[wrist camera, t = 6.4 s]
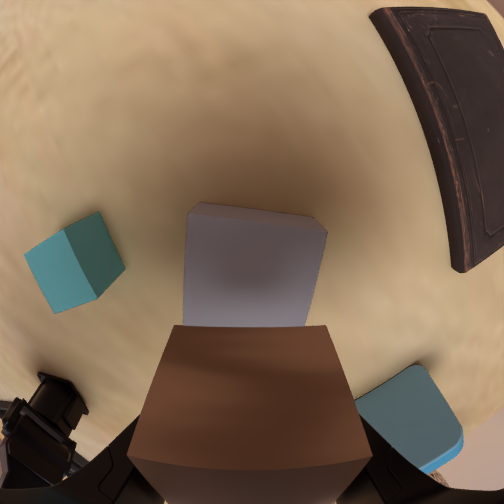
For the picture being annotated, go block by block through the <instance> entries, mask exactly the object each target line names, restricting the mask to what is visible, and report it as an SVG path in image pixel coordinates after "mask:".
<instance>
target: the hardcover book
mask: <svg viewBox="0 0 504 504" xmlns="http://www.w3.org/2000/svg"><path fill="white" fill-rule="evenodd" d="M369 18H370V20H371V21H372V23H373V24H374V26H375V28H376V29H377V31H378V33H379V34H380V36H381V38H382V40H383V41H384V43H385V45H386V47H387V48H388V50H389V52H390V54H391V56H392V58H393V60H394V62H395V64H396V66H397V68H398V70H399V72H400V74H401V76H402V78H403V81H404V83H405V85H406V87H407V90H408V92H409V94H410V97H411V99H412V101H413V104H414V106H415V109H416V112H417V114H418V117H419V120H420V122H421V125H422V128H423V131H424V134H425V137H426V140H427V143H428V147H429V150H430V153H431V157H432V160H433V164H434V168H435V172H436V175H437V180H438V184H439V188H440V193H441V197H442V202H443V208H444V213H445V219H446V225H447V232H448V239H449V247H450V256H451V267H452V268H453V269H454V270H455V271H457V272H459V273H466V272H467V271H469V270H470V269H472V268H473V267H475V266H476V265H478V264H479V263H481V262H482V261H483V260H485V259H486V258H488V257H489V256H490V255H492V254H493V253H494V252H496V251H497V250H498V249H500V248H501V247H502V246H504V48H503V46H502V44H501V42H500V40H499V38H498V36H497V34H496V32H495V30H494V28H493V26H492V24H491V23H490V21H489V19H488V17H487V15H486V14H484V13H478V12H472V11H465V10H458V9H448V8H435V7H384V8H380V9H377V10H375V11H374V12H373V13H371V15H370V16H369Z"/></svg>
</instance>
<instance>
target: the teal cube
mask: <svg viewBox="0 0 504 504" xmlns="http://www.w3.org/2000/svg"><path fill="white" fill-rule="evenodd" d="M24 256H25V258H26V260H27V262H28V265H29V267H30V269H31V271H32V273H33V275H34V277H35V279H36V281H37V283H38V285H39V287H40V289H41V290H42V292H43V294H44V296H45V298H46V300H47V301H48V303H49V305H50V307H51V308H52V310H53V312H54V313H55V314H57V313H59V312H62V311H65V310H68V309H70V308H73V307H76V306H79V305H82V304H84V303H87V302H90V301H93V300H95V299H98V298H99V297H100V296H101V295H102V293H103V292H104V291H105V290H106V289H107V288H108V287H109V286H110V285H111V284H112V283H113V282H114V281H115V279H116V278H117V277H118V276H119V275H120V274H121V273H122V272H123V271H124V270H125V267H124V265H123V263H122V261H121V259H120V257H119V255H118V252H117V250H116V248H115V246H114V244H113V242H112V240H111V237H110V235H109V233H108V231H107V229H106V226H105V224H104V222H103V219H102V217H101V215H100V212H97V213H95V214H93V215H91V216H89V217H87V218H84V219H82V220H80V221H78V222H76V223H74V224H72V225H70V226H68V227H66V228H64V229H62V230H61V231H59V232H57V233H56V234H54V235H53V236H51V237H50V238H48V239H46V240H45V241H43V242H42V243H40V244H39V245H37V246H36V247H34V248H33V249H31V250H30V251H29V252H27V253H26V254H24Z"/></svg>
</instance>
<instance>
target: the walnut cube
mask: <svg viewBox="0 0 504 504" xmlns="http://www.w3.org/2000/svg"><path fill="white" fill-rule="evenodd" d="M127 456H128V458H129V459H130V460H131V461H132V463H133V464H134V465H135V466H136V468H137V469H138V470H139V471H140V473H141V474H142V475H143V476H144V477H145V479H146V480H147V481H148V482H149V483H150V484H151V485H152V487H153V488H154V489H155V490H156V491H157V492H158V493H159V494H160V495H161V496H162V497H163V498H164V500H165V501H166V502H167V503H168V504H332V503H333V502H334V501H335V500H336V499H337V498H338V497H339V496H340V495H341V494H342V493H343V491H344V490H345V489H346V488H347V487H348V486H349V485H350V484H351V482H352V481H353V480H354V479H355V478H356V476H357V475H358V474H359V473H360V472H361V470H362V469H363V468H364V467H365V465H366V464H367V463H368V461H369V460H370V459H371V457H372V456H373V455H372V452H371V449H370V446H369V443H368V440H367V437H366V434H365V431H364V428H363V425H362V422H361V419H360V416H359V413H358V410H357V407H356V405H355V402H354V399H353V396H352V393H351V390H350V388H349V385H348V382H347V379H346V377H345V374H344V371H343V369H342V366H341V363H340V360H339V358H338V355H337V353H336V350H335V347H334V345H333V342H332V340H331V337H330V334H329V332H328V329H327V327H326V325H321V326H298V327H207V326H183V325H174V327H173V329H172V332H171V334H170V337H169V339H168V342H167V344H166V347H165V349H164V352H163V355H162V357H161V360H160V362H159V365H158V368H157V370H156V373H155V376H154V378H153V381H152V384H151V386H150V389H149V392H148V394H147V397H146V400H145V403H144V406H143V408H142V411H141V414H140V417H139V420H138V423H137V425H136V428H135V431H134V434H133V437H132V440H131V443H130V446H129V449H128V452H127Z"/></svg>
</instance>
